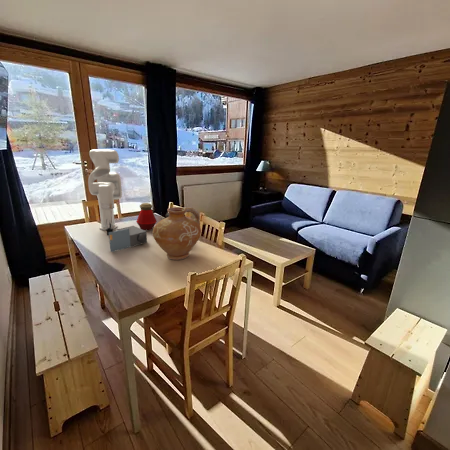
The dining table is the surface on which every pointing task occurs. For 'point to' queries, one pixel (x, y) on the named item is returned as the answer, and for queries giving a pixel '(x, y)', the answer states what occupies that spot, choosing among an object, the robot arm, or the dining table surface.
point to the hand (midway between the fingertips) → (110, 234)
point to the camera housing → (136, 235)
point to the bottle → (146, 217)
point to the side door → (119, 239)
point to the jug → (178, 232)
